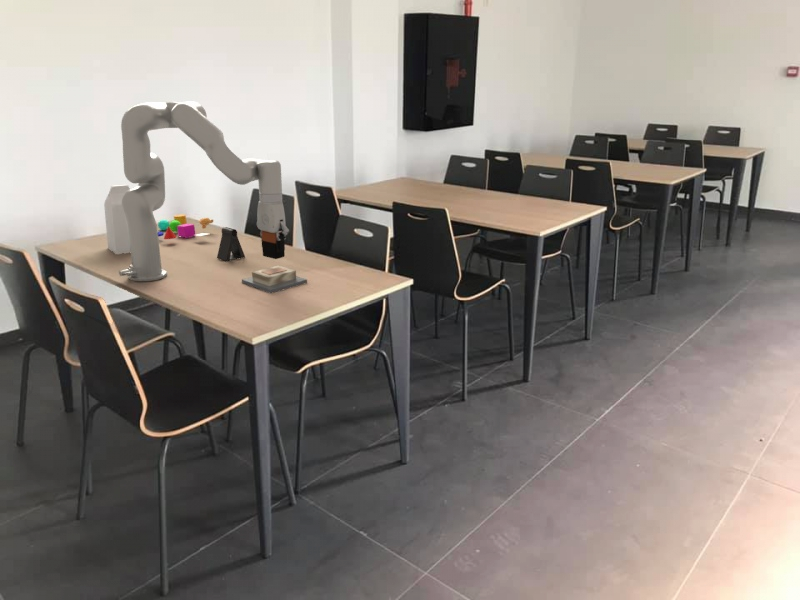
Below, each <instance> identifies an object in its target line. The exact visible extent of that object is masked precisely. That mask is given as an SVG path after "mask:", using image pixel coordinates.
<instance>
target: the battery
mask: <svg viewBox="0 0 800 600" xmlns="http://www.w3.org/2000/svg"><path fill="white" fill-rule="evenodd" d="M280 235H281V233H279V236H280ZM261 237H262V239H261V248H262V249H261V251H262V256H263V257H266V258H269V259H270V258H271V259H273V260H279V259H282V258H284V257H285V251H281V252H277V251H276V241H277V238H276V233H269V232H266V231H262V236H261Z"/></svg>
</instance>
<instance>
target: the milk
mask: <svg viewBox="0 0 800 600" xmlns="http://www.w3.org/2000/svg"><path fill="white" fill-rule="evenodd" d="M130 189H131V188H130V186H129V185H128V184H121V185H120V184H119V185H111V186H110V189H109V193H108V194H107V196H106V199H105V201H104V204H103V205H104V216H105V217H104V219H105V227H106V230H105V231H106V240H107V249H108V248H109V249H108V250H109V251H111V252H112V251H113V252H112V253H114V254H115V255H121V254H122V253H124V254H129V252H131V251H130V243H129V235H128V228H127V222H126V218H125V214H124V211H123V208H122V198H123V196H124V194H125V193H126V192H127V191H129V190H130ZM122 255H123V254H122Z"/></svg>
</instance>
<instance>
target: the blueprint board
mask: <svg viewBox="0 0 800 600" xmlns="http://www.w3.org/2000/svg"><path fill="white" fill-rule="evenodd" d="M241 283H242V284H244V285H247V286H250V287H252V286H253V287H252V288H255V287H256V288H255V289H258V290H261V291H263V290H264V292H266V291H267V293H269V292H270V293H269V294H273V293H276V292H275V291H277V292H279V290H280V291H284V290H287V289H290V287H291V288H293V287H297V285H298V286H300V285H305V284H307V283H308V279H306V278H303V277H300V276H297V275H296V279H293V280H289V281H286V282H282V283H278V284H275V285H271V286H267V285H264V284H261V283H258V282H256V281H253V279H252V276H249V277H246V278H243V279H241ZM304 283H305V284H304ZM283 289H284V290H283ZM272 292H273V293H272Z"/></svg>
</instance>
